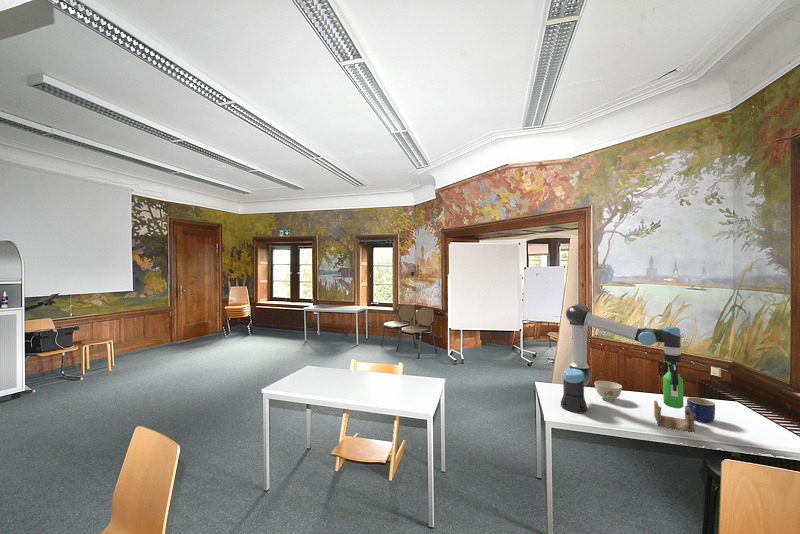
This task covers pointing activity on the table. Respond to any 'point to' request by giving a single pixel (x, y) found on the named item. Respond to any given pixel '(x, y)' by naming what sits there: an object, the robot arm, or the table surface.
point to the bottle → (668, 399)
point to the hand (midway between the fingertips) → (673, 393)
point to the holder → (674, 420)
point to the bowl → (608, 389)
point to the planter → (701, 409)
